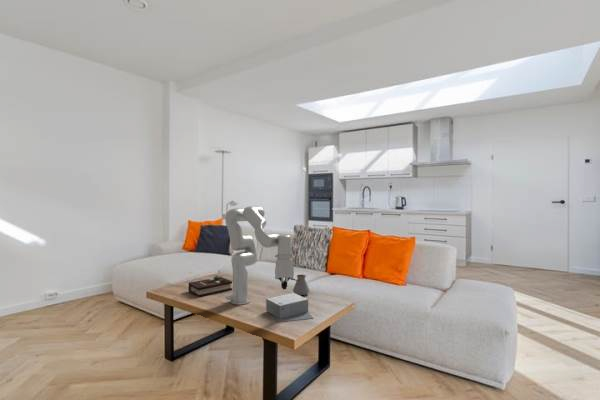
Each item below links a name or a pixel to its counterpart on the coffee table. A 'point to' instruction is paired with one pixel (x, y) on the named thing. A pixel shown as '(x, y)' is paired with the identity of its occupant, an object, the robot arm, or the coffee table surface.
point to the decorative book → (209, 286)
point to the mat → (295, 317)
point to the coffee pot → (300, 285)
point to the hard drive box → (286, 305)
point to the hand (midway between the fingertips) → (284, 288)
